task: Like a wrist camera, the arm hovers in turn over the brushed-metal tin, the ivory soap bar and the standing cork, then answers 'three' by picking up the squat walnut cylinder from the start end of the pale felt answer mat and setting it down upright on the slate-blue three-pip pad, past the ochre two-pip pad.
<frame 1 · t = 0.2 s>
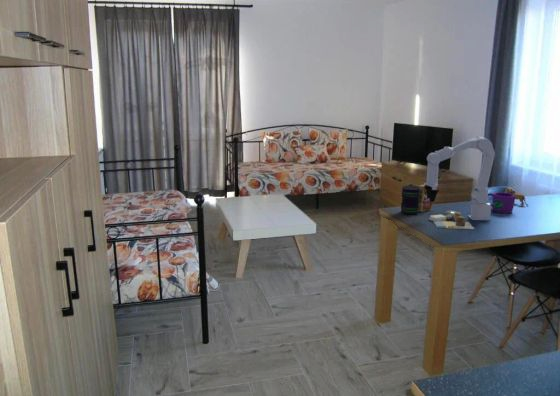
hand: (430, 199, 255), 10 cm above the table, fingers open, 7 cm apart
cork: (457, 221, 251), on the table
answer mat: (453, 225, 243), on the table
storage jar: (409, 213, 266), on the table
lion figurine: (514, 204, 284), on the table
candy box: (423, 210, 272), on the table
soap bar: (437, 220, 253), on the table
walnut cylinder: (460, 224, 243), resting on answer mat
tin: (450, 218, 256), on the table
mug: (497, 210, 271), on the table
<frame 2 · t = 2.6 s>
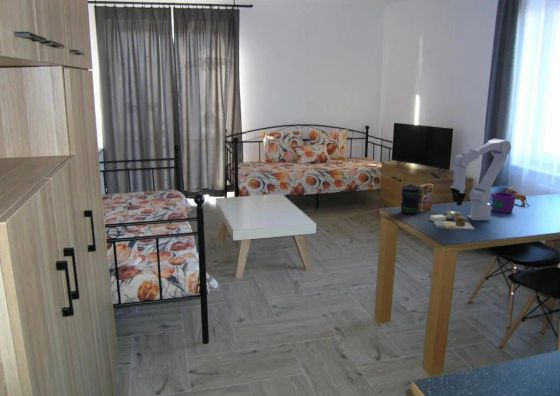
hand: (457, 203, 248), 10 cm above the table, fingers open, 7 cm apart
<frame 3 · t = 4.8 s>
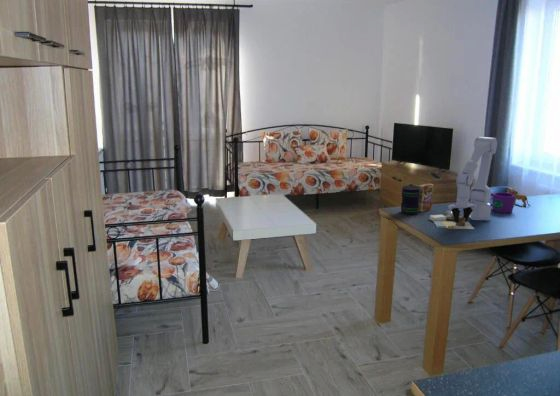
hand: (460, 221, 243), 2 cm above the table, fingers closed on walnut cylinder, 4 cm apart
walnut cylinder: (460, 224, 243), resting on answer mat, touching gripper
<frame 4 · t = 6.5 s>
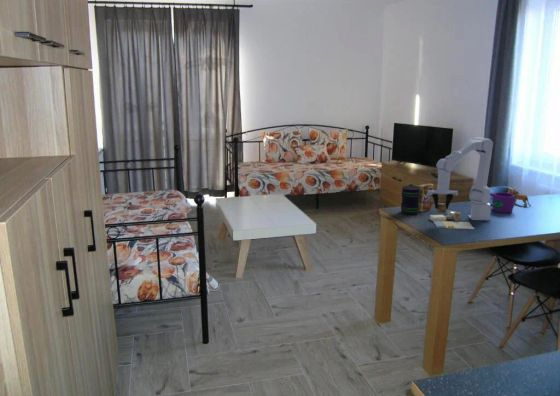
hand: (441, 208, 242), 9 cm above the table, fingers closed on walnut cylinder, 4 cm apart
walnut cylinder: (441, 211, 242), point 7 cm above the table, touching gripper
when the fingers open (3 cm above the table, at t = 8.1 s): walnut cylinder moves 1 cm, resting on answer mat.
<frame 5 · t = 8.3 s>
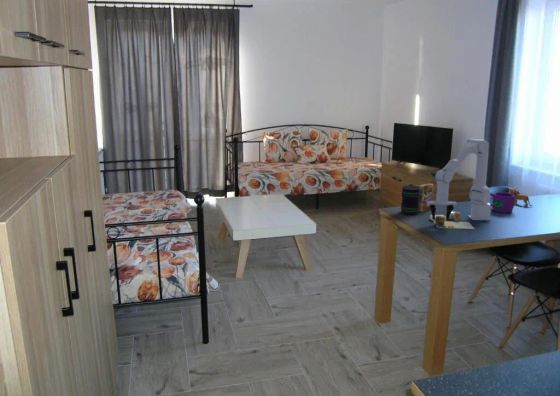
hand: (440, 219, 243), 3 cm above the table, fingers open, 6 cm apart
walnut cylinder: (439, 224, 244), resting on answer mat
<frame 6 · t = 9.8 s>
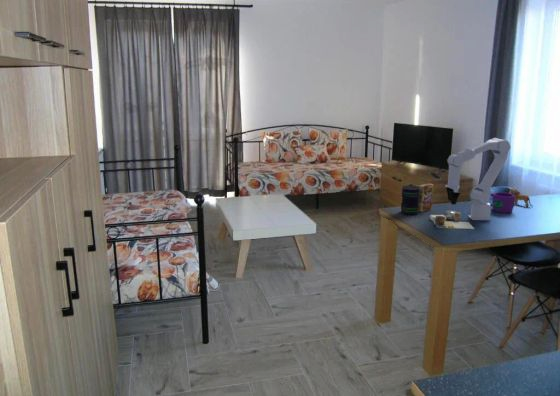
hand: (451, 202, 250), 10 cm above the table, fingers open, 7 cm apart
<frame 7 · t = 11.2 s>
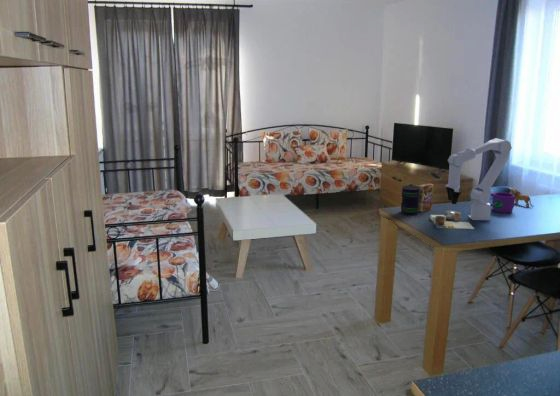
hand: (452, 202, 250), 10 cm above the table, fingers open, 7 cm apart
at the end: walnut cylinder inside the target area on the answer mat (0.2 cm from its centre), point 0.4 cm above the answer mat's base; walnut cylinder tilted 0°; the gripper is holding nothing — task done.
